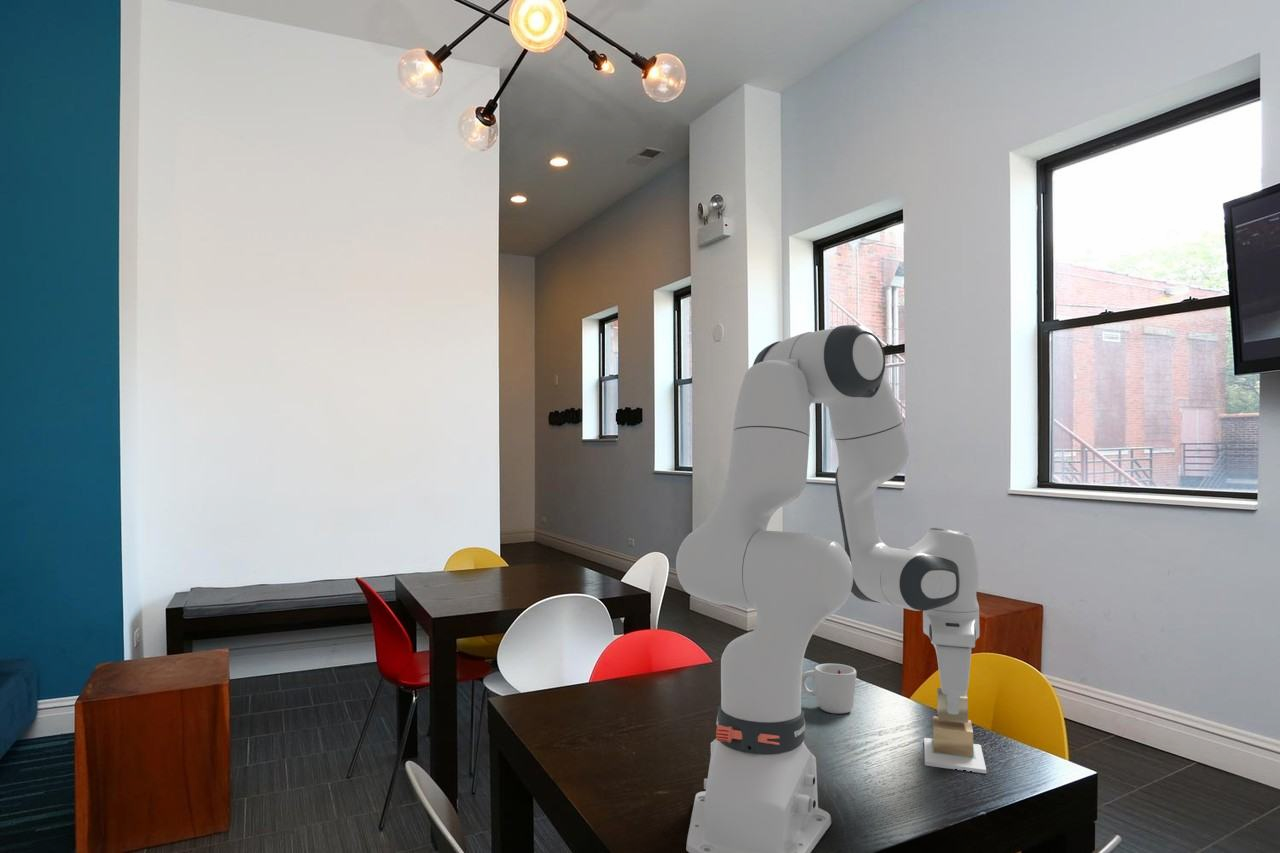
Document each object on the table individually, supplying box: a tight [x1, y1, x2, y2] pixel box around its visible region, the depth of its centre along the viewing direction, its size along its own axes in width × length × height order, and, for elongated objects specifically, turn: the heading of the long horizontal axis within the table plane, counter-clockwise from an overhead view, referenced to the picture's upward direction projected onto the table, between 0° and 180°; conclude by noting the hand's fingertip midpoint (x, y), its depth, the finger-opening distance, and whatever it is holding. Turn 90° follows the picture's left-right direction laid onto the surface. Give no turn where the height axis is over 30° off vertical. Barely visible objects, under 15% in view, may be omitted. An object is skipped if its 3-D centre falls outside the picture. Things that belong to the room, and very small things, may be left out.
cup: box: [801, 663, 857, 715], centre depth 147 cm, size 11×8×8 cm
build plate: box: [923, 737, 987, 774], centre depth 123 cm, size 11×9×1 cm
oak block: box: [932, 715, 974, 757], centre depth 125 cm, size 6×6×4 cm
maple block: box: [936, 687, 969, 723], centre depth 126 cm, size 4×4×4 cm
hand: (952, 707), depth 126 cm, fingers closed on maple block, 4 cm apart
